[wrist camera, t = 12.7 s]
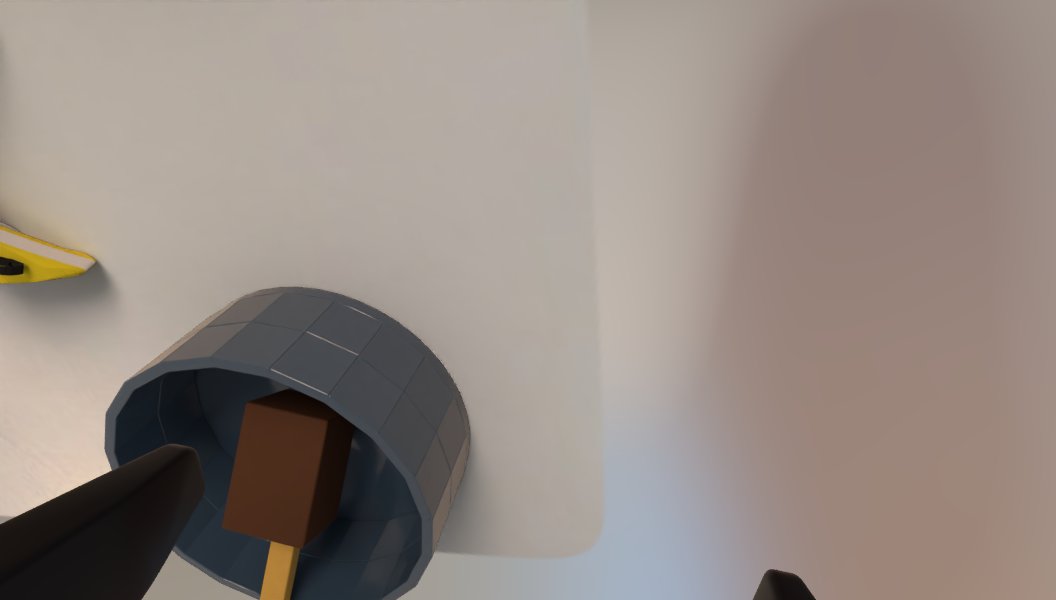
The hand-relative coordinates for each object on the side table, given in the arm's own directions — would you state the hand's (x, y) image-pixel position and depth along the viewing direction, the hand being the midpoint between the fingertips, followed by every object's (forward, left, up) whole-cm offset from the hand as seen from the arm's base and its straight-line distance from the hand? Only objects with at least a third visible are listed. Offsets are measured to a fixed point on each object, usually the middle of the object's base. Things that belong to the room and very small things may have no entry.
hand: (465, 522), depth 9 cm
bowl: (+9, +10, -12) cm, 18 cm away
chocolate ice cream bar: (+9, +12, -9) cm, 18 cm away
